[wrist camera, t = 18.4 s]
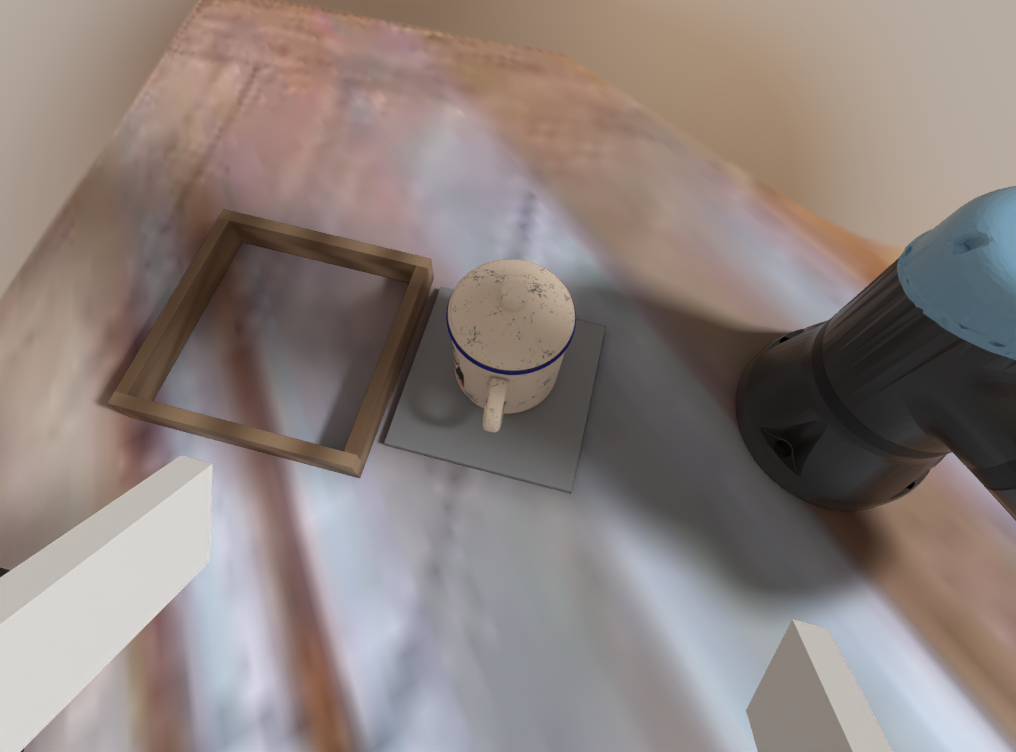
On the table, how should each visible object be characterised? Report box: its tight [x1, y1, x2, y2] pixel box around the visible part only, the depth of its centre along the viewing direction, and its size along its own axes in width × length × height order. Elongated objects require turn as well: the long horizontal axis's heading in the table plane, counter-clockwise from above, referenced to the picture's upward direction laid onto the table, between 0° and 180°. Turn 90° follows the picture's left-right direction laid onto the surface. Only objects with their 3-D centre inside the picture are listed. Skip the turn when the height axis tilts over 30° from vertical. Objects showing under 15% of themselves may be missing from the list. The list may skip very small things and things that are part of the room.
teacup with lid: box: [446, 259, 576, 432], centre depth 41 cm, size 12×9×12 cm
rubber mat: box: [384, 287, 606, 493], centre depth 47 cm, size 15×15×1 cm
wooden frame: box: [108, 209, 434, 478], centre depth 46 cm, size 19×19×3 cm
